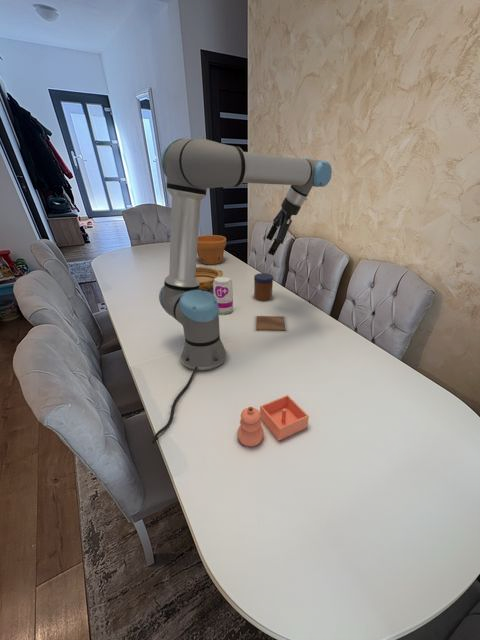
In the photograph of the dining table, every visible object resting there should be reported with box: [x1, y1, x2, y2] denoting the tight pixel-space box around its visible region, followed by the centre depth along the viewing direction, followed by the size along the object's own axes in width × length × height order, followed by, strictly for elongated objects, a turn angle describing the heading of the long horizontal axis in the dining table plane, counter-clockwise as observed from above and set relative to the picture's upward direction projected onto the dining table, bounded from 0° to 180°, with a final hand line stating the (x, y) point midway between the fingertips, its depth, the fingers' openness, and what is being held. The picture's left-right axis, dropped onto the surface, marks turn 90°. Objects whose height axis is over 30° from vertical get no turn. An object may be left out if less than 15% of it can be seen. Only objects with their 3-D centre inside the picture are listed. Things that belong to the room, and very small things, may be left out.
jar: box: [253, 280, 274, 302], centre depth 151 cm, size 9×9×10 cm
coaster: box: [256, 315, 287, 332], centre depth 130 cm, size 12×12×1 cm
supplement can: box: [212, 275, 234, 315], centre depth 136 cm, size 8×8×15 cm
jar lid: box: [253, 272, 274, 283], centre depth 149 cm, size 9×9×2 cm
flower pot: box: [197, 234, 227, 265], centre depth 198 cm, size 21×21×15 cm
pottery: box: [237, 394, 310, 448], centre depth 78 cm, size 18×10×10 cm, turn 121°
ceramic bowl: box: [195, 266, 224, 292], centre depth 160 cm, size 30×24×8 cm
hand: (269, 246), depth 137 cm, fingers open, 13 cm apart
